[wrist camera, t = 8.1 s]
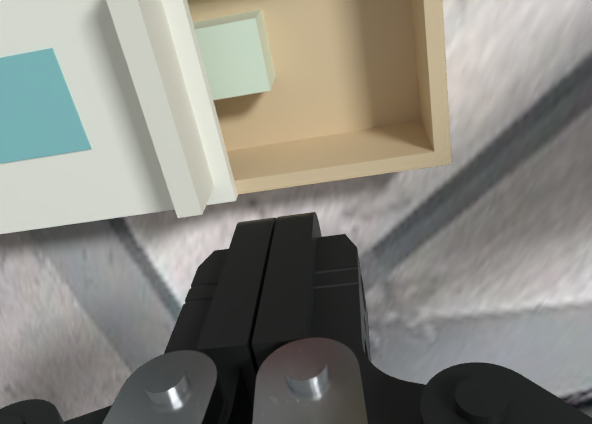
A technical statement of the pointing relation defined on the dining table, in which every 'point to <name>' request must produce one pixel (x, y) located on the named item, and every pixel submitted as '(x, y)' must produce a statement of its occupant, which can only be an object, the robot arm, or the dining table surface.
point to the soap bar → (236, 54)
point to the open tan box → (339, 92)
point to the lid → (105, 114)
